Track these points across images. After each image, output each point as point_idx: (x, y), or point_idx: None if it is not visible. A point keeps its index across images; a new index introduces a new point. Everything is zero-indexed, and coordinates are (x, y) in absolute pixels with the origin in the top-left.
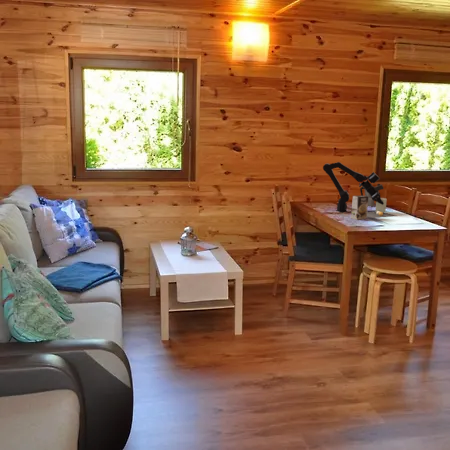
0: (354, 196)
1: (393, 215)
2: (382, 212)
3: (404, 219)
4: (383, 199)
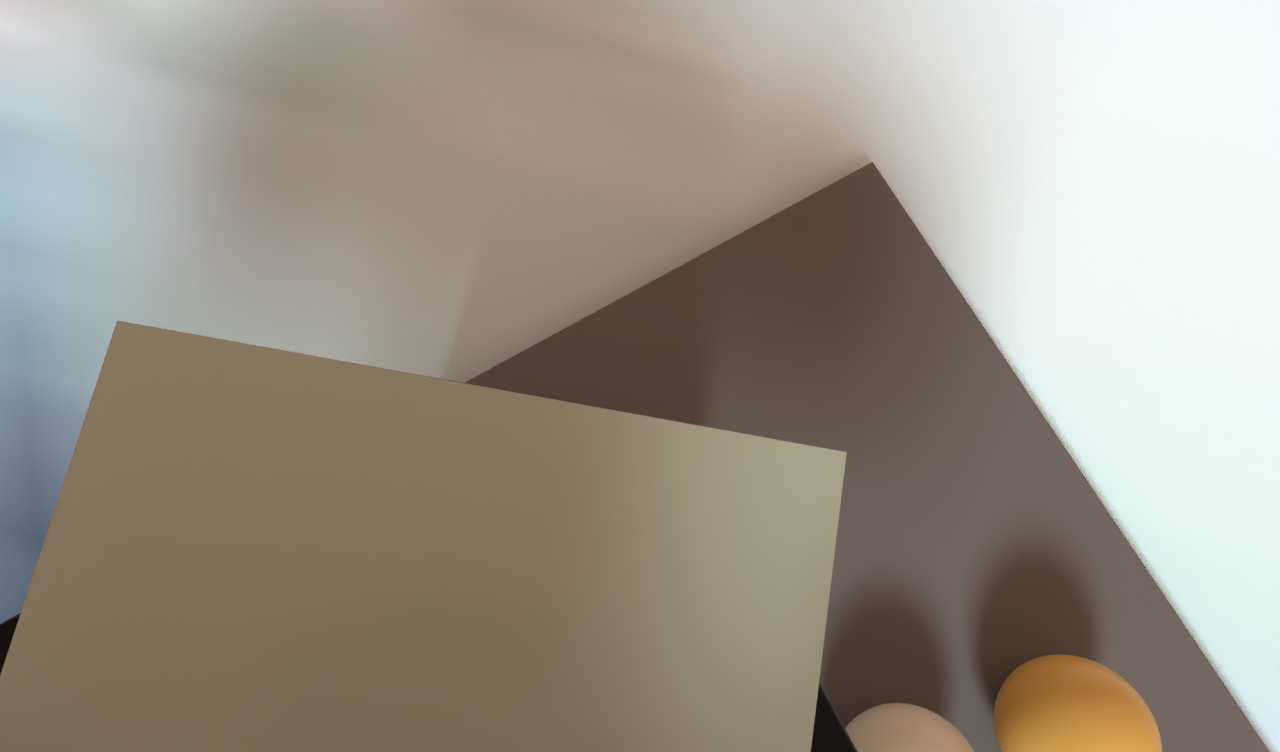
0: None
1: (827, 285)
2: None
3: (1196, 122)
4: (811, 699)
